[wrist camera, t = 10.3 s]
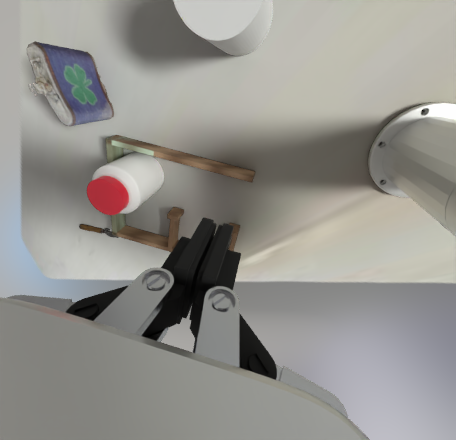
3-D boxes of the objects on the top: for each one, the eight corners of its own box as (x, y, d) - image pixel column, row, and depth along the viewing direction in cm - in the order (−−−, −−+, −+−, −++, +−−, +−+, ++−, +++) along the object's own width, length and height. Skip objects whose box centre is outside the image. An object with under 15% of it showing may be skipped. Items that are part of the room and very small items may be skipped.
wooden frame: (255, 171, 38) (253, 177, 35) (230, 258, 48) (228, 268, 45) (117, 134, 39) (105, 138, 37) (121, 227, 49) (112, 234, 47)
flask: (117, 117, 38) (65, 126, 29) (102, 120, 39) (47, 131, 30) (91, 49, 34) (20, 34, 25) (74, 54, 35) (0, 42, 25)
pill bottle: (138, 141, 39) (94, 158, 30) (172, 175, 41) (141, 201, 32) (116, 171, 43) (70, 194, 34) (148, 200, 45) (114, 231, 35)
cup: (208, -31, 27) (165, -101, 17) (278, -31, 26) (277, -106, 16) (206, 54, 31) (171, 38, 21) (267, 57, 30) (261, 42, 20)
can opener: (82, 226, 52) (78, 229, 51) (81, 218, 51) (77, 220, 50) (121, 238, 52) (118, 241, 50) (121, 230, 50) (118, 233, 49)
